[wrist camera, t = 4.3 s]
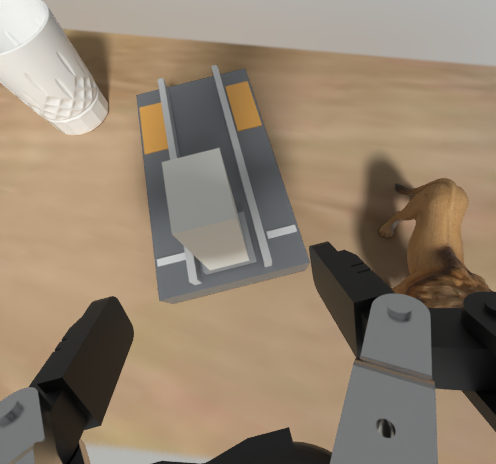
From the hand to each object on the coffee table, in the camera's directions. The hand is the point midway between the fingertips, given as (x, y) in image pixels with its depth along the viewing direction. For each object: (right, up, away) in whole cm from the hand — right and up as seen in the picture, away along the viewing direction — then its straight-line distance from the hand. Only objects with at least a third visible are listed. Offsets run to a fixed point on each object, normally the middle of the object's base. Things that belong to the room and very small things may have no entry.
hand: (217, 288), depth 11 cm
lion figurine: (+15, -1, +12) cm, 19 cm away
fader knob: (-1, +1, +10) cm, 10 cm away
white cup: (-19, +17, +21) cm, 33 cm away
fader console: (-2, +7, +16) cm, 18 cm away
